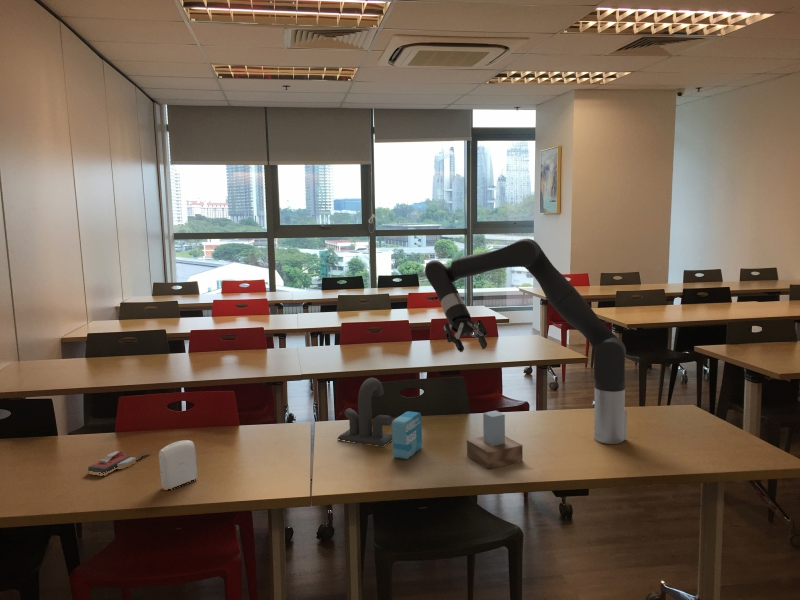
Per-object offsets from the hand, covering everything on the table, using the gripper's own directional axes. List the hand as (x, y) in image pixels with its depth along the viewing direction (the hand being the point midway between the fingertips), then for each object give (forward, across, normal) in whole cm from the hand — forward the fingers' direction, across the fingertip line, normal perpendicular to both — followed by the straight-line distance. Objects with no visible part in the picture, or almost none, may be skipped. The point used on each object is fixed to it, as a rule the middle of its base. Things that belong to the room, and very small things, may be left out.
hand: (473, 349), depth 200 cm
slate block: (+29, -3, +7) cm, 30 cm away
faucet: (+7, -28, +37) cm, 47 cm away
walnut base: (+33, -3, +11) cm, 35 cm away
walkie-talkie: (-4, -106, +48) cm, 117 cm away
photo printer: (+13, -91, +31) cm, 97 cm away
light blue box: (+21, -24, +23) cm, 39 cm away
